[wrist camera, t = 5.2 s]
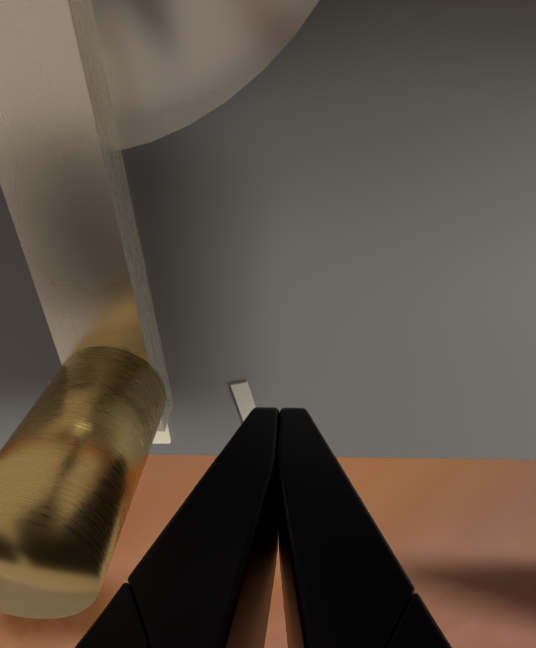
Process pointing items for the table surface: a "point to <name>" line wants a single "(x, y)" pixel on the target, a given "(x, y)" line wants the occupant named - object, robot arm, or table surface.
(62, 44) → the disc crank with handle
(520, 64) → the stand base
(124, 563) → the table surface
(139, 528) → the table surface
